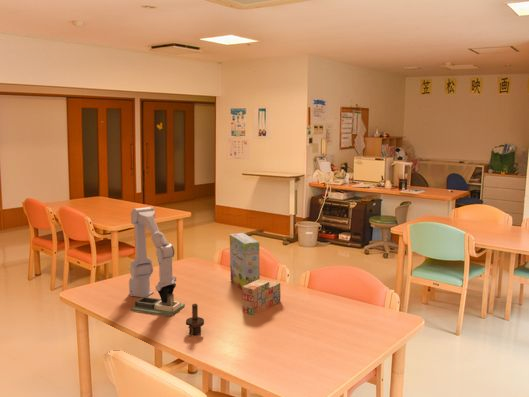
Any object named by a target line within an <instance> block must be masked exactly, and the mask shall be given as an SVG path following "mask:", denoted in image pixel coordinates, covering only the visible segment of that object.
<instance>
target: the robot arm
mask: <svg viewBox="0 0 529 397" xmlns="http://www.w3.org/2000/svg"><path fill="white" fill-rule="evenodd" d="M130 219H131V221H130V222H131V224H132V225H133V227H134V242H135V243H134V245H135V258H134V259H132V260H131V261H130V267H129V273H130V277H129V280H128V288H129V289H128V291H129V292H128V296H131V297H140V298H143V297H148V296H150V295H152V294H154V293H155V292H154V291H152V290H151V288H150V286H151V282H150V281H151V280H150V277H151V275H153V272H154V266H153V264H152V263H153V262H152V259H151V258H149V257H148V256H147V238H146V237H147V236H146V227H147V229H148V231H149V232H150V235H152V236H151V237H150V239H151V241H152V243H153V246H154V247H155V251H156V252H155V253H156V257H157V262H158V266H159V267H158V269H159V270H158V274H159V282H157V284H156V285H155V287H154V288H155V291H157V293H158V295H159V298H160V299H161V301H162V303H167V296H168V294H174V290H175V289H176V286H177V283H176V281H177V276H173V258H174V257H175V248H174V246H173V244H171V243H170V242H168V241H167V238H166V236H165V234H164V233H163V232H162V231H160V230H159V226H158V225H157V222H156V220H155V219H156V211H155V208H154V207H153V206H145V207H137V208H135V207H133V208H132V210H131V211H130Z"/></svg>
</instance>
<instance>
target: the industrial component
mask: <svg viewBox="0 0 529 397" xmlns="http://www.w3.org/2000/svg"><path fill="white" fill-rule="evenodd" d="M198 310H199V308H198V303H192V305H191V311H192V312H191V316H192V317H189V318H186V320H185V325H186V326H188V327H187V328H188V330H189V331H188V332H189V335H190V336H195V335H196V336H197V335H201V333H202V326H204V325H205V319H204V318H203V317H200V316H199V315H198Z"/></svg>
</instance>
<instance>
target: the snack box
mask: <svg viewBox="0 0 529 397" xmlns="http://www.w3.org/2000/svg"><path fill="white" fill-rule="evenodd" d="M228 236H229V257H230V259H229V261H230V281H231V282H232V283H233V284H234V285H236V286H237V288H239V289H240V290H242V287H243V286H245V285H247V284H249V283H252V282H254V281H256V280H258V279H259V280H261V279H260V278H261V277H260V272H261V271H260V268H261V267H260V241H259V240H256V239H255V238H253V237H251V236H249V235H247V234H246V233H244V232H239V233H229V235H228Z"/></svg>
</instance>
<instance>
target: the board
mask: <svg viewBox="0 0 529 397" xmlns="http://www.w3.org/2000/svg"><path fill="white" fill-rule="evenodd" d="M134 303H135V304H134V305H133V307H130V311H132V312H138V313H139V312H140V313H145V314H150V315H151V314H152V315H156V316H163V317H172V316H173V315H174V314H177V312H179V311H180V310H181V309H183V308H185V306H186V304H185V303H182V301H181V302H180V301H176V300H174V306H173V307H171V306H164V305H162V301H161V298H154V297H148V296H147V297H140V299H137V300H136V301H135V302H134Z"/></svg>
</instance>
